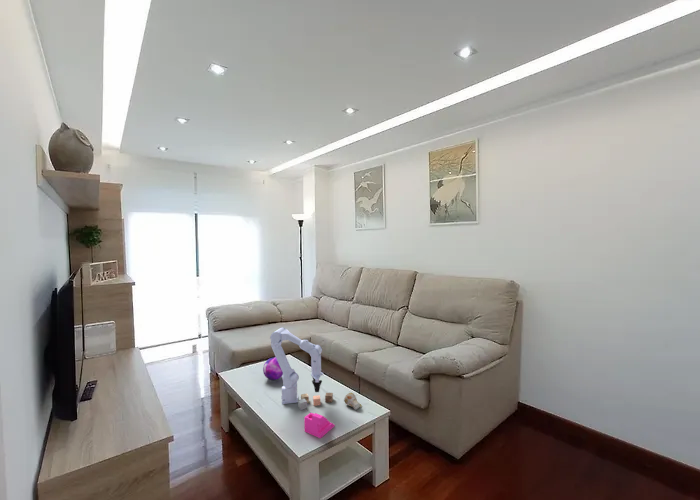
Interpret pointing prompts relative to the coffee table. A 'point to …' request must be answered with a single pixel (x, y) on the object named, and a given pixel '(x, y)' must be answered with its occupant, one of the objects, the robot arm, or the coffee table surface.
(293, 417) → the coffee table surface
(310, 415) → the bracket
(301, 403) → the slate cube
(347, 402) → the cream patterned bulbous figurine
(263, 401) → the coffee table surface
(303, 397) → the beech cube
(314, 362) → the robot arm
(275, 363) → the decorative orb
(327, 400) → the walnut cube
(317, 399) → the terracotta cube
